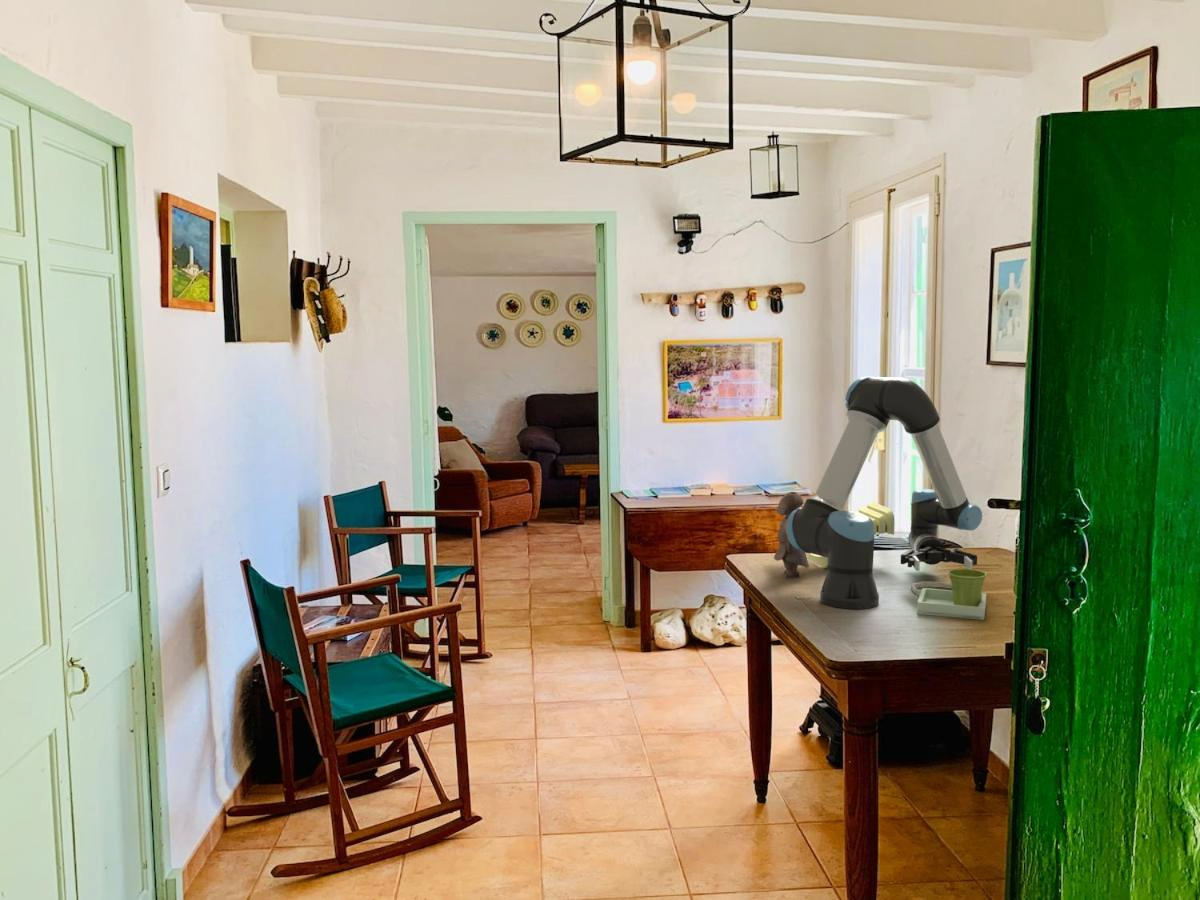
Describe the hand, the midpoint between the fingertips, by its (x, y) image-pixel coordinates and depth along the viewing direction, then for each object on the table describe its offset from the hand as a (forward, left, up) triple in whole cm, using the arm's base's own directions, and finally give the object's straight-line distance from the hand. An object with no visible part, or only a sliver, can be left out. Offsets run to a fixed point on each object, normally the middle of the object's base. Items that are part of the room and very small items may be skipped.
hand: (944, 566), depth 275 cm
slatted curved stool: (+12, +45, -9) cm, 48 cm away
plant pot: (-4, -9, -8) cm, 13 cm away
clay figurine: (-12, +43, -9) cm, 46 cm away
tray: (-7, -7, -9) cm, 13 cm away
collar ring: (+6, +6, -9) cm, 12 cm away
